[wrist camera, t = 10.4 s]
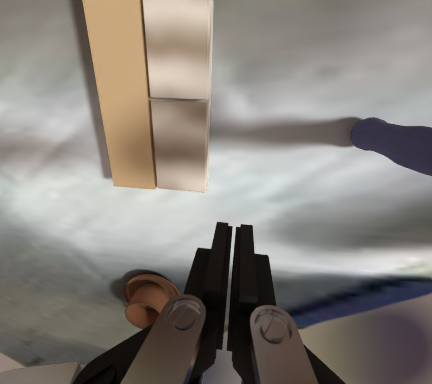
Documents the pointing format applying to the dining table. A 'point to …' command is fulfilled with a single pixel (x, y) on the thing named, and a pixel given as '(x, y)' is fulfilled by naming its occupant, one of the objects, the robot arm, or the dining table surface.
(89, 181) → the dining table surface
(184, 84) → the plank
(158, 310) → the cup and saucer
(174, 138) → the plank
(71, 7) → the dining table surface
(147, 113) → the floor board
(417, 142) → the rubber mallet
